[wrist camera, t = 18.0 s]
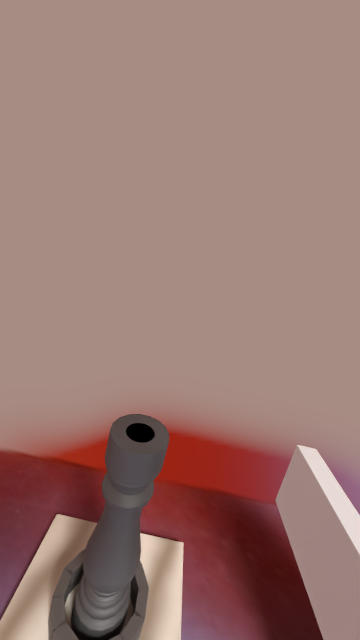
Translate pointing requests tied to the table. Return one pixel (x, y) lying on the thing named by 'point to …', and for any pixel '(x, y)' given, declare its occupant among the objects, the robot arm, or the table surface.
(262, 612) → the table surface
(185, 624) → the table surface
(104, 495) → the candle holder
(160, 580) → the socket board
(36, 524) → the table surface
